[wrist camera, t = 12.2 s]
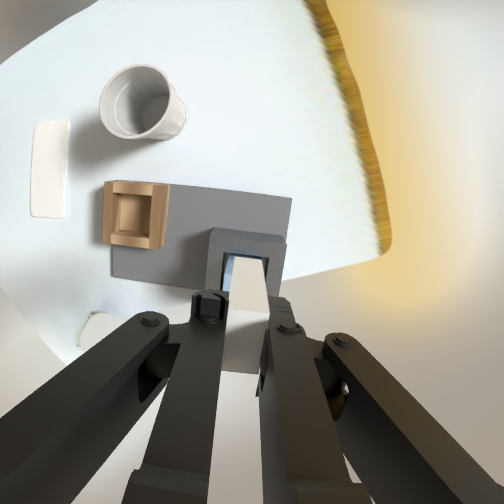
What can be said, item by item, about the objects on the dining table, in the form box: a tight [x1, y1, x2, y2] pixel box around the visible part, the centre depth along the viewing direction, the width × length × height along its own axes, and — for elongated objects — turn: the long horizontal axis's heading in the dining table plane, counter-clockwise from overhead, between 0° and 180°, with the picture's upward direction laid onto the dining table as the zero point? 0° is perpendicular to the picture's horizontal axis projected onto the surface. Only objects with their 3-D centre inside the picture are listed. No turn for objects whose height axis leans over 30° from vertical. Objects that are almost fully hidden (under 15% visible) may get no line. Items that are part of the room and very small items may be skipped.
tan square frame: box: [102, 180, 170, 250], centre depth 39 cm, size 8×8×4 cm
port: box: [205, 227, 287, 297], centre depth 40 cm, size 9×9×5 cm
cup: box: [99, 64, 188, 140], centre depth 32 cm, size 8×8×12 cm
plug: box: [223, 253, 262, 292], centre depth 37 cm, size 4×4×10 cm
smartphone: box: [31, 120, 70, 218], centre depth 39 cm, size 7×1×15 cm
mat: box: [113, 180, 292, 290], centre depth 42 cm, size 24×14×1 cm, turn 83°
